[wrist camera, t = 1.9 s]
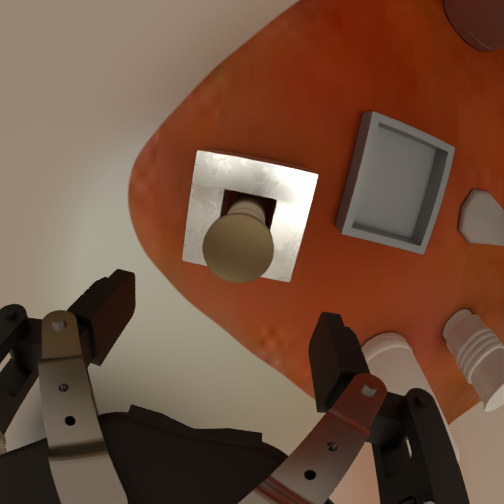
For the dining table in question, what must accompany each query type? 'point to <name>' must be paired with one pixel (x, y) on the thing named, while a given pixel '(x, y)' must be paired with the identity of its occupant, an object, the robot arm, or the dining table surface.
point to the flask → (482, 219)
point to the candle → (477, 356)
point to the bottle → (398, 369)
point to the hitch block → (257, 183)
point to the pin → (240, 241)
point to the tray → (394, 184)
